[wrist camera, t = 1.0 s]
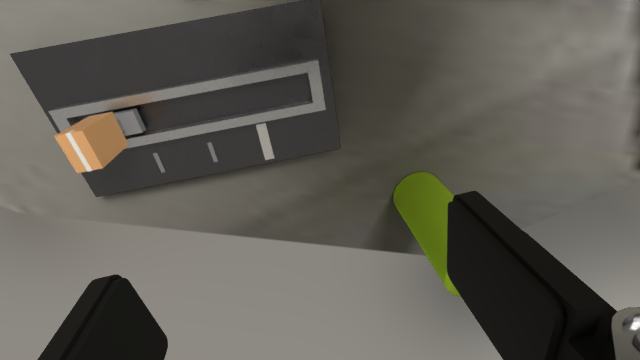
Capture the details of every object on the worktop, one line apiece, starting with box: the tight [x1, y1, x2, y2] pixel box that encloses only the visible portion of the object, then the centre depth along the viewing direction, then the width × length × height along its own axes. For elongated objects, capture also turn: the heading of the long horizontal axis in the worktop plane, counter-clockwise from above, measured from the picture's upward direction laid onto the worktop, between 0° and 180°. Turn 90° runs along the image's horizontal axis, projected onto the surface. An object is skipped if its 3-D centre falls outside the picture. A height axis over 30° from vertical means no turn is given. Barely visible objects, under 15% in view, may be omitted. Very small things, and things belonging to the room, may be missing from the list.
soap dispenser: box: [393, 172, 461, 297], centre depth 29 cm, size 6×7×20 cm
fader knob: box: [54, 108, 146, 173], centre depth 24 cm, size 3×4×6 cm
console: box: [10, 0, 341, 197], centre depth 28 cm, size 13×24×4 cm, turn 99°
